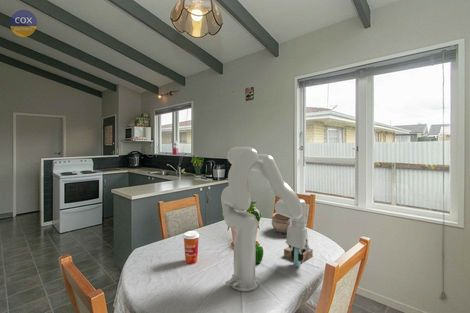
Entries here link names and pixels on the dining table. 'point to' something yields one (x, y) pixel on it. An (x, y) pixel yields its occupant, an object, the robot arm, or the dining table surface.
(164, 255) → the dining table surface
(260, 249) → the bell pepper
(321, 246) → the dining table surface
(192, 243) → the coffee cup
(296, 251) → the peg
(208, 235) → the dining table surface
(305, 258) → the socket
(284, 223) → the cooking pot
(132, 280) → the dining table surface
